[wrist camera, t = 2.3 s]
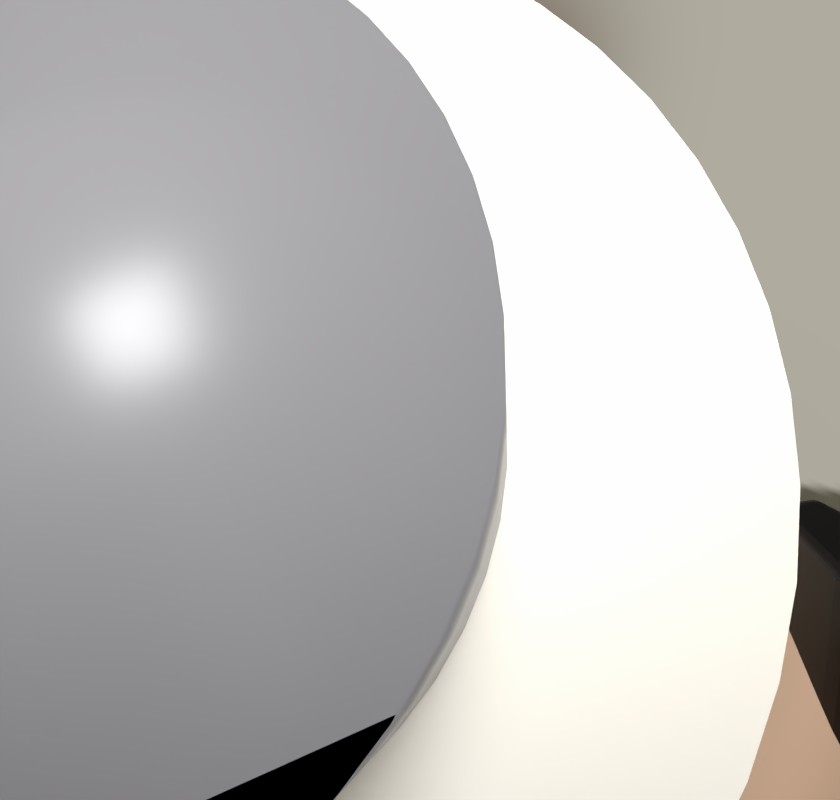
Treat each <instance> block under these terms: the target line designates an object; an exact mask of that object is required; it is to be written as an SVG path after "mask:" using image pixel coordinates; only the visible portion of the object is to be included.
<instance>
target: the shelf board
mask: <svg viewBox="0 0 840 800" xmlns="http://www.w3.org/2000/svg"><path fill="white" fill-rule="evenodd" d="M739 800H840V744H839V743H838V741H837V739H836V737H835V735H834V733H833V731H832V729H831V727H830V724H829V722H828V720H827V718H826V716H825V713H824V711H823V709H822V707H821V704H820V702H819V699H818V697H817V695H816V692H815V690H814V688H813V685H812V683H811V681H810V678H809V676H808V674H807V671H806V669H805V666H804V664H803V662H802V659H801V657H800V655H799V652H798V650H797V648H796V645H795V643H794V640H793V638H792V636H791V633H790V631H788V637H787V643H786V648H785V654H784V660H783V666H782V671H781V677H780V683H779V686H778V689H777V692H776V695H775V698H774V701H773V704H772V707H771V711H770V714H769V717H768V720H767V723H766V726H765V729H764V732H763V735H762V739H761V742H760V745H759V748H758V751H757V754H756V757H755V760H754V763H753V767H752V770H751V773H750V776H749V779H748V782H747V784H746V786H745V788H744V791H743V793H742V795H741V797H740V799H739Z"/></svg>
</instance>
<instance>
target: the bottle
mask: <svg viewBox="0 0 840 800" xmlns="http://www.w3.org/2000/svg"><path fill="white" fill-rule="evenodd" d="M793 422H794V421H793V412H792V402H791V393H790V389H789V385H788V381H787V377H786V373H785V369H784V365H783V361H782V357H781V353H780V349H779V345H778V341H777V337H776V333H775V329H774V325H773V321H772V317H771V313H770V309H769V306H768V304H767V301H766V298H765V296H764V294H763V291H762V288H761V286H760V283H759V281H758V279H757V276H756V274H755V271H754V269H753V266H752V264H751V261H750V259H749V256H748V254H747V251H746V249H745V246H744V244H743V241H742V239H741V236H740V234H739V231H738V229H737V227H736V226H735V224H734V223H733V220H732V219H731V217H730V215H729V213H728V212H727V210H726V208H725V207H724V205H723V203H722V202H721V200H720V198H719V196H718V194H717V193H716V191H715V189H714V187H713V186H712V184H711V182H710V180H709V179H708V177H707V175H706V173H705V172H704V170H703V168H702V166H701V165H700V163H699V161H698V160H697V159H696V157H695V156H694V155H693V153H692V152H691V151H690V149H689V148H688V147H687V145H686V144H685V143H684V142H683V140H682V139H681V138H680V137H679V135H678V134H677V133H676V131H675V130H674V129H673V127H672V126H671V125H670V124H669V122H668V121H667V120H666V119H665V117H664V116H663V114H662V113H661V112H660V111H659V109H658V108H657V107H656V105H655V104H654V103H653V102H652V100H651V99H650V98H649V97H648V96H647V95H646V94H645V93H644V92H643V91H642V90H641V89H640V88H639V87H638V86H637V85H636V84H635V83H633V81H632V80H631V79H630V78H628V76H626V75H625V74H624V73H623V72H622V71H621V70H620V69H619V68H618V67H617V66H616V65H615V64H614V63H613V62H612V61H611V60H610V59H609V58H608V57H607V56H606V55H605V54H604V53H603V52H602V51H601V50H600V49H599V48H598V47H596V46H595V45H594V44H593V43H591V42H590V41H589V40H587V39H586V38H584V37H583V36H582V35H581V34H579V33H578V32H577V31H575V30H574V29H573V28H571V27H570V26H569V25H567V24H566V23H565V22H563V21H562V20H561V19H559V18H558V17H556V16H555V15H554V14H552V13H551V12H550V11H548V10H547V9H546V8H544V7H543V6H542V5H540V4H539V3H537V2H535V1H534V0H0V800H739V799H740V797H741V795H742V793H743V791H744V788H745V786H746V784H747V782H748V779H749V776H750V773H751V770H752V767H753V763H754V760H755V757H756V754H757V751H758V748H759V745H760V742H761V739H762V735H763V732H764V729H765V726H766V723H767V720H768V717H769V714H770V711H771V707H772V704H773V701H774V698H775V695H776V692H777V689H778V686H779V683H780V677H781V671H782V666H783V660H784V654H785V648H786V643H787V637H788V631H789V625H790V620H791V614H792V608H793V602H794V597H795V591H796V585H797V567H798V537H799V508H800V479H799V469H798V460H797V450H796V441H795V431H794V423H793Z"/></svg>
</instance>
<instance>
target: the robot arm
mask: <svg viewBox="0 0 840 800" xmlns="http://www.w3.org/2000/svg"><path fill="white" fill-rule="evenodd" d="M789 631H790V633H791V636H792V638H793V640H794V643H795V645H796V648H797V650H798V652H799V655H800V657H801V659H802V662H803V664H804V666H805V669H806V671H807V674H808V676H809V678H810V681H811V683H812V685H813V688H814V690H815V692H816V695H817V697H818V699H819V702H820V704H821V707H822V709H823V711H824V713H825V716H826V718H827V720H828V722H829V724H830V727H831V729H832V731H833V733H834V735H835V737H836V739H837V741H838V743H839V744H840V511H838V510H836V509H834V508H832V507H830V506H828V505H826V504H825V503H822V502H820V501H817V500H806V501H800V508H799V537H798V567H797V585H796V591H795V597H794V602H793V608H792V614H791V620H790V625H789Z"/></svg>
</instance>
